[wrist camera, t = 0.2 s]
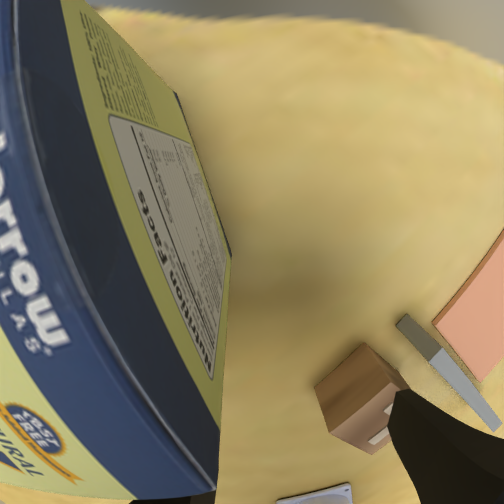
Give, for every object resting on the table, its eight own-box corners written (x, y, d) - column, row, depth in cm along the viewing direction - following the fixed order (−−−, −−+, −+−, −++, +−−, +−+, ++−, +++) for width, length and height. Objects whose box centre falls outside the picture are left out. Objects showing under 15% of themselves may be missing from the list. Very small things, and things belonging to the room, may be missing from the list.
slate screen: (477, 395, 24) (502, 423, 19) (469, 403, 24) (493, 432, 19) (407, 313, 21) (442, 347, 16) (395, 325, 21) (428, 362, 16)
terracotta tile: (542, 295, 22) (545, 297, 21) (477, 379, 23) (480, 382, 23) (510, 218, 19) (515, 220, 19) (431, 322, 21) (435, 326, 21)
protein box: (-8, 193, 17) (-179, 244, 2) (178, 91, 17) (29, -81, 2) (43, 322, 20) (-82, 458, 5) (237, 256, 19) (240, 499, 4)
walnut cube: (398, 372, 22) (427, 412, 17) (353, 412, 23) (372, 456, 18) (363, 341, 21) (391, 383, 16) (313, 387, 22) (329, 435, 17)
